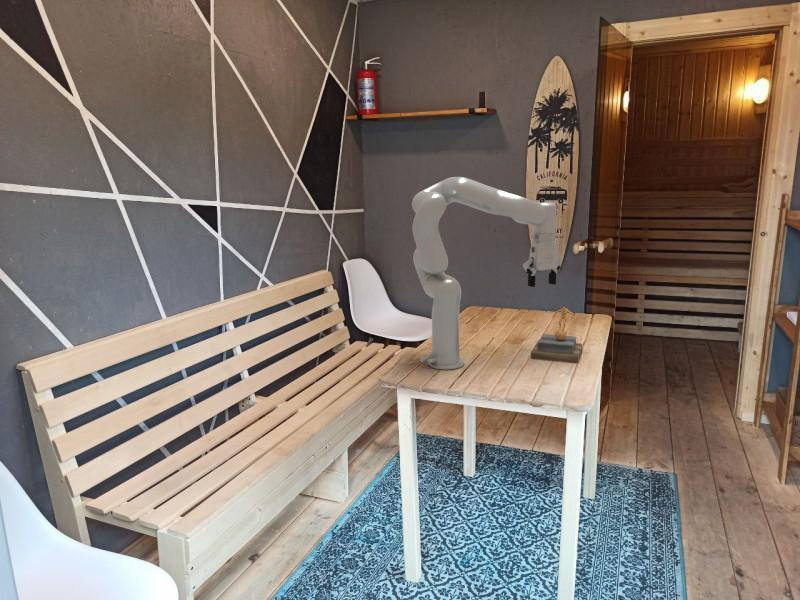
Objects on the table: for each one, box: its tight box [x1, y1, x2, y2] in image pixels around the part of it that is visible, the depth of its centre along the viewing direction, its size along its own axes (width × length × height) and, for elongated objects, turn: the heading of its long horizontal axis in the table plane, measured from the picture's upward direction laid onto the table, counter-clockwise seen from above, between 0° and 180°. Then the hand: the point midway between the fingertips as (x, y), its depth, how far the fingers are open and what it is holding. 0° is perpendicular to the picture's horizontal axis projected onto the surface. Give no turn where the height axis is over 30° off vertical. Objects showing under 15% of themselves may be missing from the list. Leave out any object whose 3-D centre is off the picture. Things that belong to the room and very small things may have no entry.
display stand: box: [530, 333, 583, 364], centre depth 205 cm, size 16×16×6 cm
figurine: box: [551, 306, 575, 340], centre depth 203 cm, size 8×6×12 cm
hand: (541, 285), depth 203 cm, fingers open, 9 cm apart
